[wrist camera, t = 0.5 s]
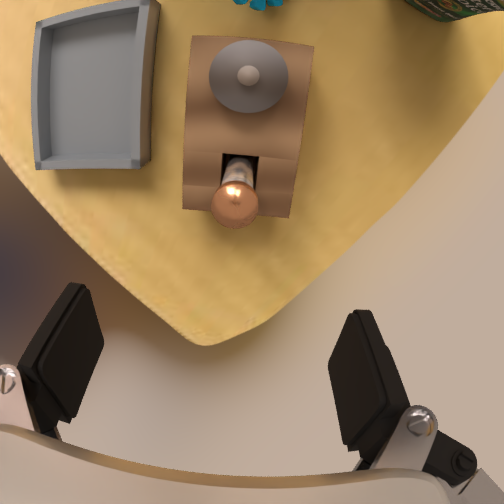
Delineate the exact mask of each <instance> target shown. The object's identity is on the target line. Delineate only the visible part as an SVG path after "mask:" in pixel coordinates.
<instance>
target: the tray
mask: <svg viewBox="0 0 504 504" xmlns="http://www.w3.org/2000/svg"><path fill="white" fill-rule="evenodd" d="M160 6H161V4H160V3H159V2H157V1H156V0H121V1H115V2H109V3H104V4H100V5H95V6H90V7H86V8H82V9H78V10H74V11H71V12H67V13H63V14H60V15H57V16H54V17H50V18H47V19H44V20H41V21H38V22H36V28H35V36H34V46H33V58H32V77H31V116H32V136H33V149H34V159H35V168H36V170H50V169H99V168H106V169H141V168H142V167H143V166H144V165H145V164H147V163H148V162H149V161H150V160H151V108H152V87H153V72H154V59H155V48H156V38H157V29H158V21H159V13H160Z"/></svg>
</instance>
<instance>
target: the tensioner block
mask: <svg viewBox="0 0 504 504" xmlns="http://www.w3.org/2000/svg"><path fill="white" fill-rule="evenodd" d="M313 52H314V47H313V46H307V45H302V44H295V43H289V42H282V41H274V40H266V39H256V38H244V37H229V36H192V41H191V50H190V61H189V72H188V84H187V97H186V113H185V131H184V156H183V209H189V210H203V211H212V210H211V203H212V199H213V196H214V193H215V191H216V190H217V188H218V187H219V186H220V185H221V184H222V181H223V177H224V174H225V170H226V167H227V163H228V160H229V157H230V154H239V155H250V156H252V157H253V189H254V190H255V192H256V194H257V197H258V213H257V215H261V216H271V217H282V218H289V214H290V208H291V202H292V196H293V190H294V184H295V178H296V171H297V165H298V159H299V152H300V146H301V139H302V132H303V126H304V119H305V112H306V105H307V97H308V90H309V83H310V75H311V68H312V60H313Z"/></svg>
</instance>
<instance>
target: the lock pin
mask: <svg viewBox="0 0 504 504" xmlns="http://www.w3.org/2000/svg"><path fill="white" fill-rule="evenodd" d="M211 210H212V214H213V216H214V218H215V219H216V220H217V221H218V222H219V223H220V224H221V225H223V226H225V227H228V228H242V227H245V226H247V225H249V224H250V223H251V222H252V221H253V220H254V219H255V217H256V215H257V213H258V197H257V194H256V192H255V190H254V189H253V157H252V156H250V155H239V154H230V157H229V160H228V163H227V167H226V170H225V174H224V177H223V181H222V184H221V185H220V186H219V187H218V188H217V190H216V191H215V193H214V196H213V199H212V203H211Z"/></svg>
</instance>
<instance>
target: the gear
mask: <svg viewBox="0 0 504 504" xmlns="http://www.w3.org/2000/svg"><path fill="white" fill-rule="evenodd" d="M233 1H234V2H235V3H236V4H245V3H247V1H248V0H233ZM267 4H268V6H281V5H282V4H283V0H267ZM250 7H251V8H252V9H255V10H263V11H264V10H265V8H266V0H252V1H251V2H250Z"/></svg>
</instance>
